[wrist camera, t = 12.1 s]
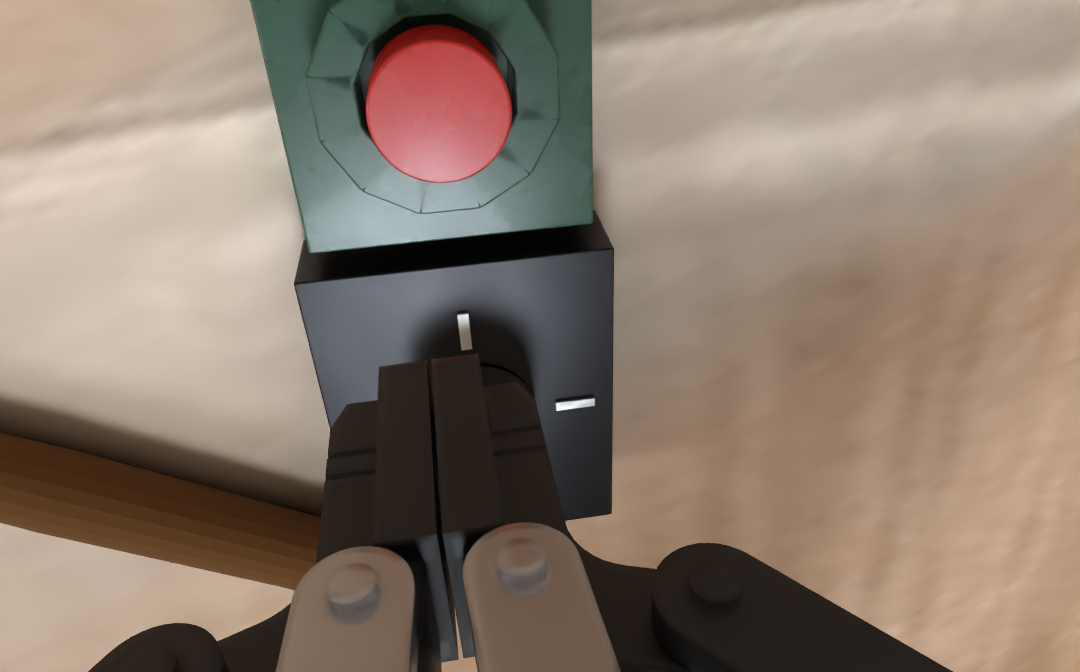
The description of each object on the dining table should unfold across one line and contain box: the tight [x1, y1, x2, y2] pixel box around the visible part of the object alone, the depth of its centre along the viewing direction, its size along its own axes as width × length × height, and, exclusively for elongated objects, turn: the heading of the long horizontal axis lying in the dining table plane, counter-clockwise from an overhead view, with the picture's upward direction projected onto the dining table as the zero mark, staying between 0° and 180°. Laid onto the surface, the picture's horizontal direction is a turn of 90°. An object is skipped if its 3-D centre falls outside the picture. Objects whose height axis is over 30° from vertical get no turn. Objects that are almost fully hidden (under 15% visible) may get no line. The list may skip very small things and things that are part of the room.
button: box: [366, 24, 512, 183], centre depth 20 cm, size 4×4×2 cm
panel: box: [294, 210, 614, 521], centre depth 29 cm, size 12×10×3 cm
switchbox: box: [250, 0, 593, 254], centre depth 22 cm, size 10×9×4 cm
